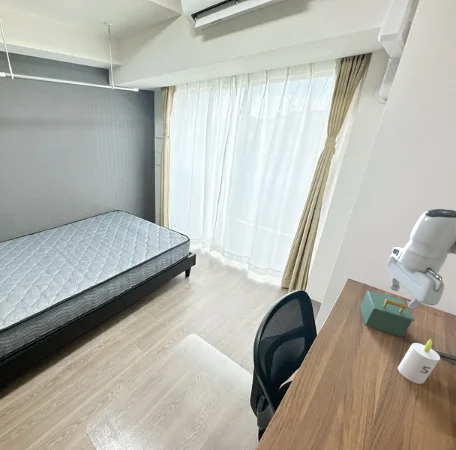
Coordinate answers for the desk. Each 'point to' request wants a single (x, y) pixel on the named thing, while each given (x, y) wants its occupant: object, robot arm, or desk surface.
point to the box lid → (390, 305)
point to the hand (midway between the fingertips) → (401, 297)
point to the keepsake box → (383, 319)
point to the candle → (419, 362)
